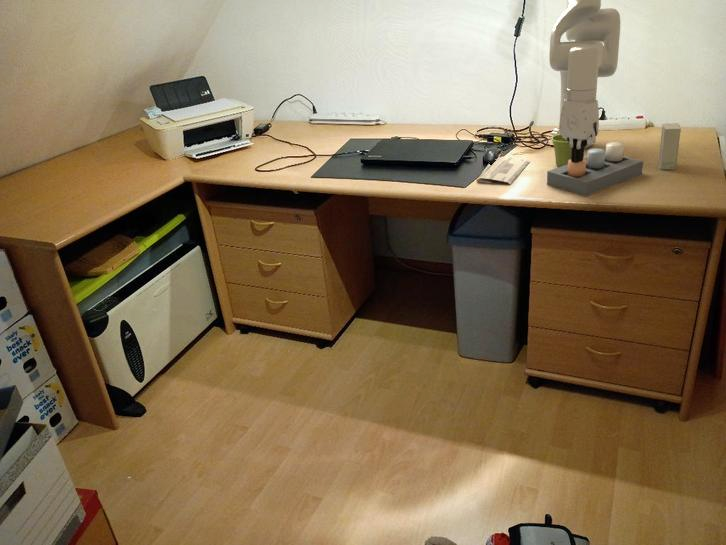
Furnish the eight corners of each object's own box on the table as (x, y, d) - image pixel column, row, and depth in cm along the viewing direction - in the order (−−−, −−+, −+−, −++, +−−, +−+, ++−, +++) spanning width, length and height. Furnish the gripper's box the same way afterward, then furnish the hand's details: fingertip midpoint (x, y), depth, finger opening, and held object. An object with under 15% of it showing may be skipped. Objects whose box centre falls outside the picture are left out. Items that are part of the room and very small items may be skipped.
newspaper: (493, 161, 203) (493, 154, 202) (529, 167, 198) (530, 160, 197) (469, 184, 186) (470, 176, 185) (508, 191, 181) (509, 183, 180)
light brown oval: (563, 175, 174) (564, 161, 172) (575, 171, 176) (576, 157, 174) (577, 179, 170) (578, 165, 168) (588, 175, 172) (589, 160, 170)
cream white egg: (601, 159, 180) (602, 144, 178) (612, 155, 182) (613, 141, 180) (615, 162, 176) (616, 148, 174) (626, 158, 179) (627, 144, 177)
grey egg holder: (546, 184, 178) (547, 171, 176) (602, 164, 188) (603, 151, 187) (585, 196, 167) (586, 182, 165) (641, 174, 178) (643, 160, 176)
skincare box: (676, 169, 178) (681, 128, 172) (659, 169, 179) (664, 129, 174) (673, 163, 183) (679, 122, 177) (657, 163, 184) (662, 123, 179)
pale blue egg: (583, 165, 177) (584, 151, 175) (594, 161, 179) (595, 147, 177) (596, 169, 173) (597, 154, 171) (607, 165, 175) (609, 150, 173)
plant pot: (544, 164, 194) (545, 137, 190) (567, 157, 197) (569, 131, 193) (563, 171, 186) (565, 143, 182) (588, 164, 189) (590, 137, 185)
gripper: (549, 94, 167) (547, 159, 175) (594, 101, 155) (589, 170, 163) (568, 89, 170) (565, 153, 178) (614, 95, 158) (608, 163, 167)
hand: (577, 161), depth 171 cm, fingers closed
